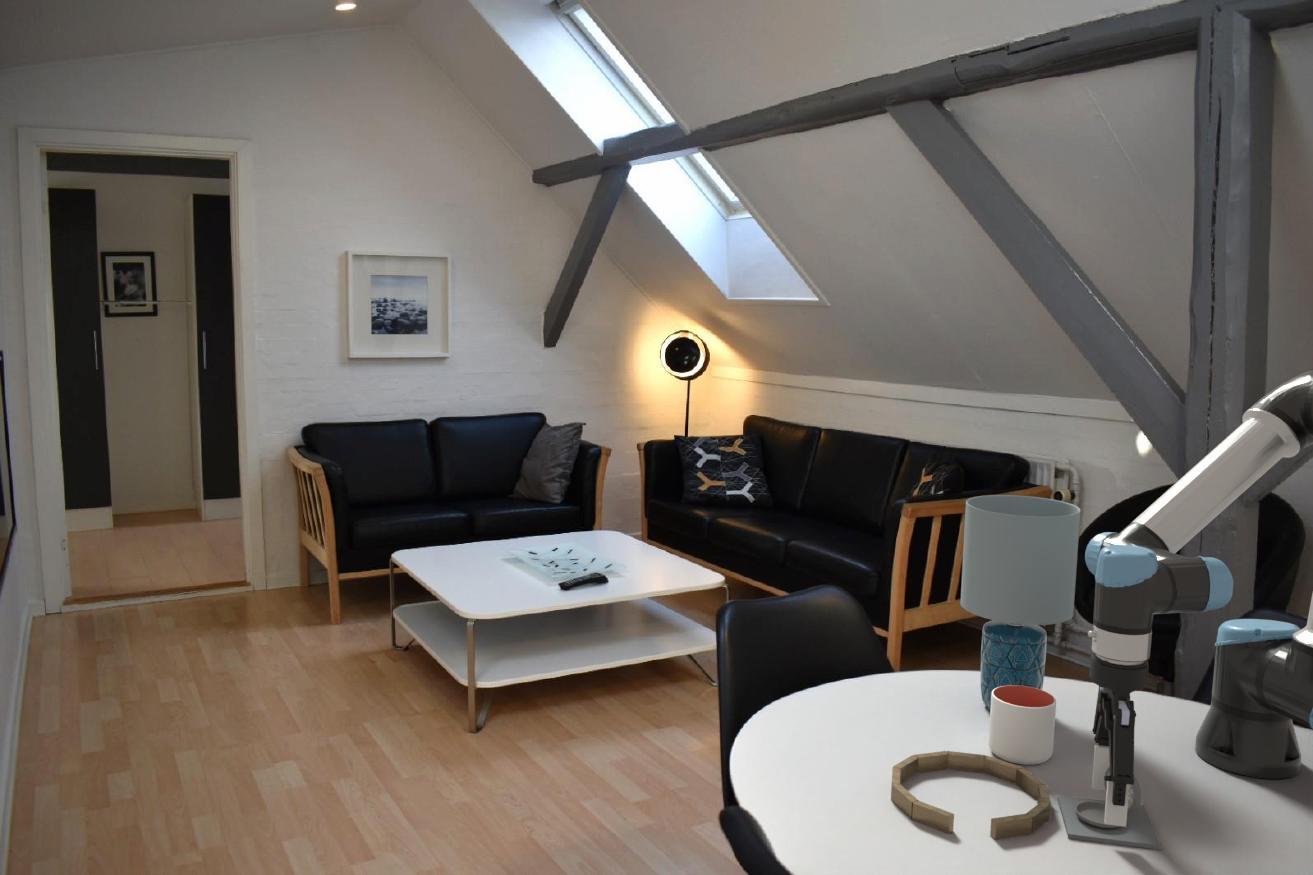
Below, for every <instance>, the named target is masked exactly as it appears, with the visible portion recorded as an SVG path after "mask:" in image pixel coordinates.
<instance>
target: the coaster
mask: <svg viewBox="0 0 1313 875" xmlns="http://www.w3.org/2000/svg"><path fill="white" fill-rule="evenodd" d="M1056 799H1057V802H1058V806H1059V810H1060V814H1061V817H1062V821H1063V824H1064V828H1065V832H1066V835H1067V839H1071V840H1072V839H1073V840H1079V841H1080V840H1082V841H1089V842H1097V843H1106V844H1112V845H1119V846H1120V845H1122V846H1128V847H1136V848H1137V847H1138V848H1144V849H1145V848H1146V849H1152V850H1160V851H1161V850H1162V849H1163V845H1162V843H1161V840H1160V838H1159V836H1158V834H1157V832H1156V829H1155V827H1154V825H1153V822H1152V820H1151V818H1150V816H1149V813H1148V811H1147V809H1146V807H1145V804H1140V805H1139V807H1138V808H1137V809H1136V810H1135V811H1133V812H1130V813H1127V822H1126V827H1124V826H1120V827H1117V828H1102V827H1097V826H1094V825H1091V824H1089V823H1087V822H1085V821H1083V820H1081V819H1080V818H1079V817H1078V816H1077V815H1076V813H1075V807H1076V805H1077V804H1079V803H1081V802H1088V801H1089V802H1100V803H1104V804H1106V799H1105V800H1103V799H1097V798H1096V799H1095V798H1088V797H1087V798H1086V797H1078V796H1070V795H1069V796H1068V795H1063V794H1062V795H1061V794H1057V798H1056Z"/></svg>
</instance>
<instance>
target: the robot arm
mask: <svg viewBox="0 0 1313 875" xmlns="http://www.w3.org/2000/svg"><path fill="white" fill-rule="evenodd" d="M1311 445H1313V369H1312V370H1308V371H1306V372H1303V373H1301V374H1298V375H1296V376H1295V377H1292V378H1291V379H1289V380H1287V381H1285V382H1283V383H1281V384H1280V385H1278V386H1277V387H1275V388H1274V389H1272V390H1271V391H1269V392H1268V393H1266V394H1265V395H1264V396H1262V397H1261V398H1260V399H1259V400H1257V401H1256V402H1255V403H1253V405H1252V406H1251V407H1250V408H1248V409H1247V410H1246V411H1245V412H1244V413H1243V415H1242V423H1241V424H1240V425H1239V426H1238V427H1237V428H1236V429H1235V430H1233V431H1232V432H1231V433H1230V434H1229V435H1228V436H1227V437H1226V438H1225V439H1223V440H1222V441H1221V442H1220V443H1219V444H1218V445H1217V446H1215V448H1213V449H1212V450H1211V451H1210V452H1209V453H1208V454H1207V455H1206V456H1204V457H1203V458H1202V459H1201V460H1200V461H1199V462H1198V463H1196V464H1195V465H1194V466H1193V467H1192V468H1191V469H1190V470H1189V471H1187V472H1186V473H1185V474H1184V475H1183V476H1182V477H1181V478H1180V479H1179V480H1178V481H1176V482H1175V483H1174V484H1173V485H1172V486H1171V487H1169V488H1168V489H1167V490H1166V491H1165V492H1164V493H1163V494H1162V495H1160V497H1158V498H1157V499H1156V500H1155V501H1154V502H1153V503H1152V504H1150V505H1149V506H1148V507H1147V508H1146V509H1145V510H1144V511H1143V512H1142V513H1140V514H1139V515H1138V516H1137V517H1136V518H1135V519H1134V520H1133V521H1131V522H1130V523H1129V524H1128V525H1126V527H1124V528H1123V529H1122V530H1121V531H1120V532H1119V533H1118V532H1115V531H1114V532H1111V531H1110V532H1109V531H1107V532H1106V531H1104V532H1102V533H1098V534H1096V535H1095V536H1094V537H1092V538H1091V539H1090V540H1089V541H1088V544H1087V546H1086V549H1085V554H1084V561H1085V564H1086V567H1087V568H1088V571H1089V572H1090V573H1091V574H1092V575H1093V576H1094V579H1095V584H1094V600H1093V602H1094V604H1093V605H1094V606H1093V622H1092V623H1093V624H1092V628H1093V630H1088V631H1087V636H1088V637H1089V638H1091V650H1092V652H1093V653H1092V654H1090V658H1089V670H1088V672H1089V674H1088V676H1089V679H1090V681H1091V682H1092V683H1094V684H1095V685H1097V686H1098V692H1097V698H1096V706H1095V714H1094V721H1093V728H1092V730H1091V731H1092V733H1093V735H1094V738H1093V740H1094V743H1095V744H1094V751H1093V762H1092V763H1093V766H1092V778H1091V779H1092V780H1091V789H1093V790H1099V791H1100V790H1101V791H1105V785H1104V780H1105V781H1107V791H1105V794H1106V795H1105V801H1106V804H1105V817H1104V823H1105V824H1107V825H1115V826H1124V827H1126V822H1127V809H1128V799H1129V796H1130V793H1129V785H1133V784H1134V774H1135V770H1134V769H1135V725H1136V717H1137V713H1136V710H1135V702H1134V700H1131V694H1132V693H1134V692H1139V691H1142V690H1144V689H1145V688H1147V686H1148V679H1149V665H1150V664H1149V661H1147V660H1148V659H1150V657H1151V647H1152V646H1151V645H1152V635H1153V628H1152V627H1153V621H1154V620H1153V619H1154V615H1163V614H1177V613H1178V614H1179V613H1181V614H1183V613H1196V612H1198V613H1205V612H1206V611H1207V612H1208V611H1212V610H1218V609H1221V608H1224V607H1225V606H1226V605H1227V604H1228V603H1229V602H1230V601H1231V598H1232V597H1233V591H1234V579H1233V576H1232V573H1231V571H1230V569H1229V567H1228V566H1227V565H1226V564H1225V562H1223V561H1222V560H1220V559H1218V558H1216V557H1209V556H1207V557H1205V556H1201V555H1198V556H1195V557H1188V556H1183V555H1181V554H1177V552H1178V551H1179V550H1181V549H1182V548H1183V547H1184V546H1185V545H1186V544H1187V543H1188V542H1190V541H1191V540H1192V539H1193V538H1194V537H1195V536H1196V535H1198V534H1199V532H1201V531H1202V530H1203V529H1204V528H1205V527H1206V526H1208V524H1210V523H1211V522H1212V521H1213V520H1214V519H1216V518H1217V516H1219V515H1220V514H1221V513H1222V512H1223V511H1224V510H1226V509H1227V508H1228V507H1229V506H1230V505H1232V503H1233V502H1234V501H1236V500H1237V499H1238V498H1239V497H1240V496H1241V495H1242V494H1243V493H1244V492H1246V491H1247V490H1248V489H1249V488H1250V487H1252V486H1253V484H1255V482H1256V481H1258V480H1259V479H1260V478H1262V476H1263V475H1264V474H1266V473H1267V472H1268V471H1269V470H1270V469H1272V467H1273V466H1275V465H1276V464H1277V463H1278V462H1279V461H1280V460H1282V459H1283V458H1288V459H1289V458H1294V457H1295V456H1296V455H1298V454H1299V453H1300V452H1301V451H1302V450H1304V449H1305V448H1307V447H1309V446H1311ZM1213 660H1214V661H1213V675H1212V688H1211V702H1210V707H1209V709H1208V711H1207V713H1206V715H1205V717H1204V719H1203V720H1202V723H1201V725H1200V727H1199V728H1198V729H1199V730H1197V734H1196V736H1195V744H1194V750H1195V752H1196V754H1197V756H1199V757H1200V758H1201V759H1202V760H1204V761H1205V762H1207V763H1209V764H1211V765H1213V766H1214V767H1217V768H1220V769H1222V770H1224V771H1227V772H1230V773H1234V774H1238V775H1242V776H1247V777H1252V778H1257V779H1258V778H1259V779H1270V780H1271V779H1272V780H1274V779H1276V780H1280V779H1286V778H1291V777H1295V776H1297V775H1298V774H1299V773H1300V772H1301V767H1302V753H1301V749H1300V745H1299V741H1298V739H1297V734H1296V730H1295V726H1294V723H1293V721H1294V722H1297V723H1298V724H1301V725H1303V726H1304V727H1307V728H1309V729H1311V730H1313V592H1312V594H1311V600H1310V606H1309V610H1308V617H1307V622H1306V626H1304V627H1303V628H1300V627H1299V626H1298V625H1297V624H1293V623H1290V622H1286V621H1282V620H1281V621H1280V620H1279V621H1278V620H1272V619H1259V618H1239V619H1238V618H1237V619H1235V618H1234V619H1231V620H1230V619H1229V620H1226V621H1224V622H1222V623H1221V624H1220V625H1219V627H1218V630H1217V636H1216V642H1215V643H1214V659H1213ZM1109 767H1110V775H1109V776H1105V772H1106V771H1107V769H1108V768H1109Z"/></svg>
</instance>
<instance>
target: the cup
mask: <svg viewBox="0 0 1313 875" xmlns="http://www.w3.org/2000/svg"><path fill="white" fill-rule="evenodd" d="M1056 708H1057V699H1056V698H1055V697H1054V695H1053V694H1051V693H1049V692H1047V691H1045V690H1043V689H1042V690H1040V689H1037V688H1033V687H1027V686H1019V685H1006V686H1000V687H997V688H995V689H994V690H993V691H992V693H991V709H989V710H990V711H989V725H988V726H989V729H988V731H989V732H988V747H989V749H990V751H991V752H992V753H993V754H995V756H997V757H998V758H1000V759H1001V760H1003V761H1005V762H1008V763H1012V764H1016V765H1018V764H1019V765H1025V766H1027V765H1032V766H1033V765H1040V764H1043V763H1045V762H1048V761H1049V760H1050V759H1051V757H1052V756H1053V752H1054V739H1055V728H1056V727H1055V726H1056V724H1055V723H1056V710H1057V709H1056Z"/></svg>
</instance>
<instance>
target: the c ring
mask: <svg viewBox="0 0 1313 875" xmlns="http://www.w3.org/2000/svg"><path fill="white" fill-rule="evenodd" d="M891 770H892V773H891V774H892V775H891V790H890V792H891V793H890V794H891V795H890V800H891V802H893V804H895V805H896V806H897V807H898V808H899V809H900V810H901V811H902V812H903V813H905V815H906V816H908V817H909V818H910V819H911V820H913V821H916V822H917V823H920V824H923V825H925V826H928V827H930V828H933V829H936V830H938V831H941V832H943V833H946V834H951V833H952V832H954V823H955V822H954V821H955V813H952V812H950V811H948V810H945V809H943V808H940V807H937V806H934V805H931V804H929V803H926V802H923V801H920V800H918V799H917V797H915V796H914V795H913V794H912V793H911V792H910V791H909V790H907V789H906V788H905V787H904V786H903V785H902V783H904V782H905V781H907V780H909V779H910V778H912V777H914V776H915V775H917V774H920V773H928V772H929V773H930V772H935V771H944V770H953V771H962V772H967V773H968V772H969V773H979V774H980V773H981V774H984V775H987V776H990V777H993V778H996V779H999V780H1002V781H1004V782H1008V783H1011V784H1014V785H1016V786H1017V787H1018V788H1020V789H1021V790H1023V791H1024V792H1025V793H1027V794H1028V795H1030V796H1031V797H1032V798H1034V799H1035V801H1037V804H1036V805H1035V806H1034V807H1032V808H1031V809H1030V810H1028V811H1027V812H1026V813H1020V814H1014V815H1006V816H1000V817H994V818H993V817H992V818H990V831H989V832H990V833H989V835H990V837H991V838H992V839H993V840H1003V839H1009V838H1017V837H1023V836H1028V835H1029V836H1030V835H1033V834H1034V833H1036V831H1038V830H1039V829H1040V828H1042V827H1043V826H1044V825H1045V824H1046V823H1047V822H1049V821H1050V820H1051V812H1052V800H1051V796H1050V793H1049V790H1048V785H1047V784H1046V783H1045V782H1044V781H1042V779H1039V778H1038V777H1036V776H1035V775H1034V774H1032V773H1031V772H1030V771H1028V770H1027V769H1025V768H1024V767H1022V766H1020V765H1018V764H1015V763H1012V762H1009V761H1006V760H1003V759H998V758H995V757H992V756H989V755H985V754H978V753H969V752H960V751H952V750H951V751H950V750H942V751H934V752H933V751H932V752H928V753H927V752H926V753H919V754H912V755H909V756H908V757H907V758H905V759H903V760H902V761H900V762H898V763H897V764H895V765H893V766H892V769H891Z"/></svg>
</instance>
